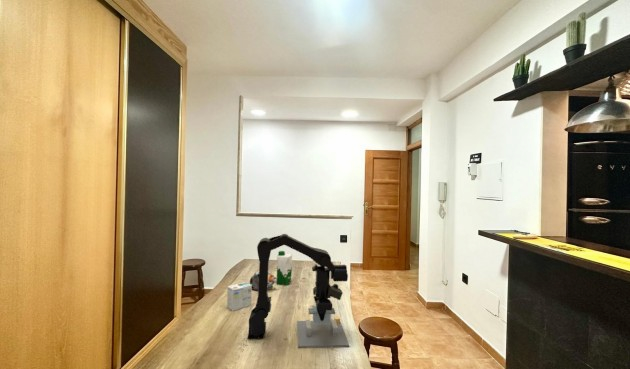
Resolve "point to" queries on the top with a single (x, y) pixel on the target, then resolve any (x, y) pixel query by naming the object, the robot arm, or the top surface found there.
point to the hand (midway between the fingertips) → (321, 317)
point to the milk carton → (284, 268)
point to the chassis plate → (321, 334)
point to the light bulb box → (239, 296)
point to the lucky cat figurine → (255, 280)
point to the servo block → (316, 316)
